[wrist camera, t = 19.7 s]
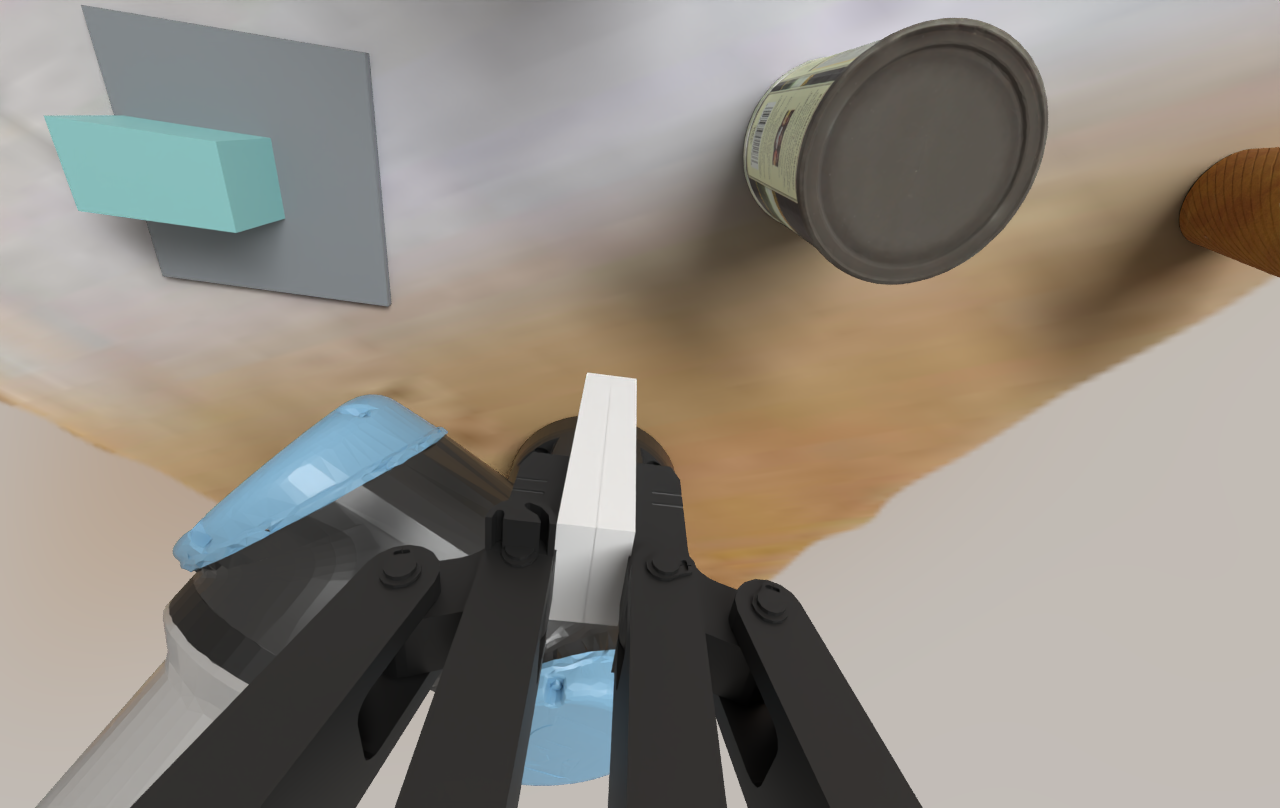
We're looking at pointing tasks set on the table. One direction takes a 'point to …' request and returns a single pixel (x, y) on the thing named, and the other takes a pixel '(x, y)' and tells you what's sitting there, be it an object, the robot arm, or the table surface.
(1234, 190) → the disposable coffee cup
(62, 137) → the block
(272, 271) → the mat
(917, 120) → the coffee can
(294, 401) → the table surface
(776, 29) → the table surface
